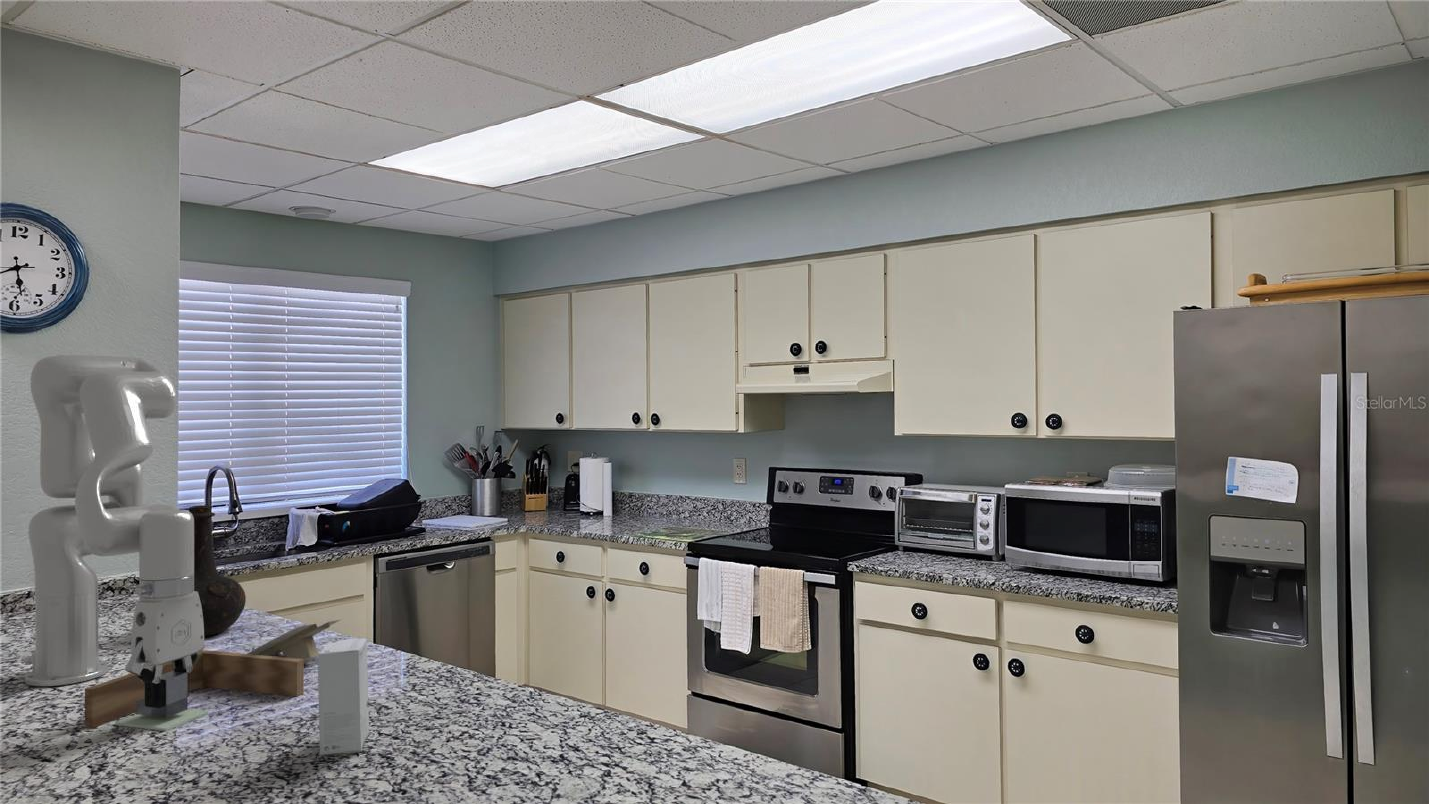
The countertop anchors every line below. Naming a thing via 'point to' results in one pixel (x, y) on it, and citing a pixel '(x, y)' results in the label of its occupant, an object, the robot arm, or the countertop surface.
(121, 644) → the countertop surface
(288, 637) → the grey angled piece
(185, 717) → the pad
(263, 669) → the wall
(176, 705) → the metal block
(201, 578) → the glass bottle
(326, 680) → the skincare box
